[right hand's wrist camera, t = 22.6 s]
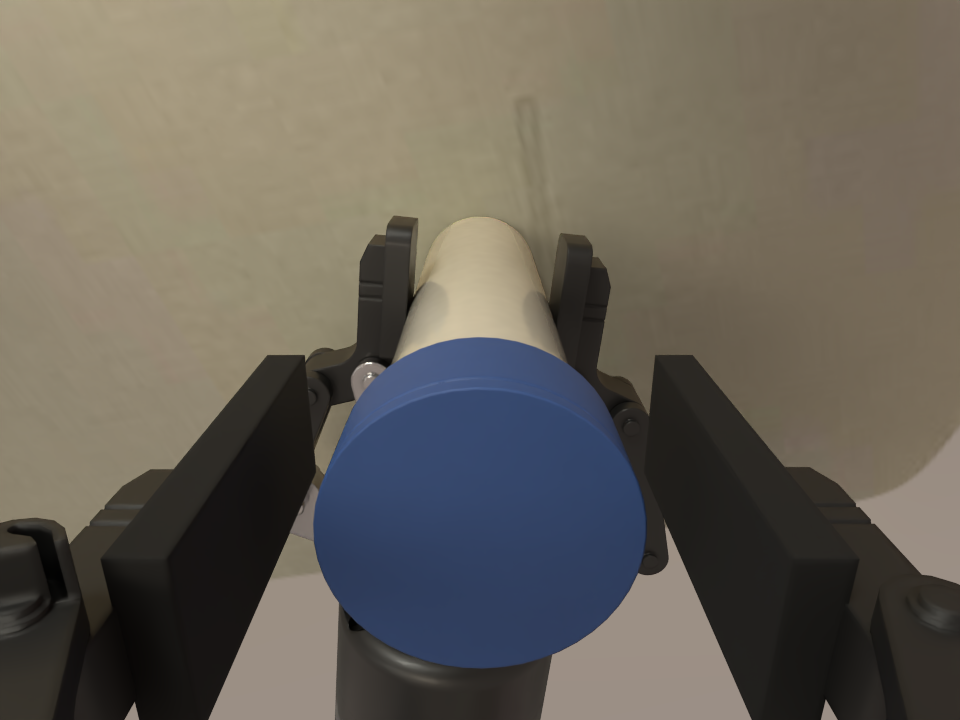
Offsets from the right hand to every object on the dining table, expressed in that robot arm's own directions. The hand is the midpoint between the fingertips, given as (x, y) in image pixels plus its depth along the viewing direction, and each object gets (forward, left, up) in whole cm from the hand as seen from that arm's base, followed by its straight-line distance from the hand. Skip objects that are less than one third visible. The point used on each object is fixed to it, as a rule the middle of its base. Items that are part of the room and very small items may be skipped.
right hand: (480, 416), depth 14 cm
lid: (0, 0, +4) cm, 4 cm away
